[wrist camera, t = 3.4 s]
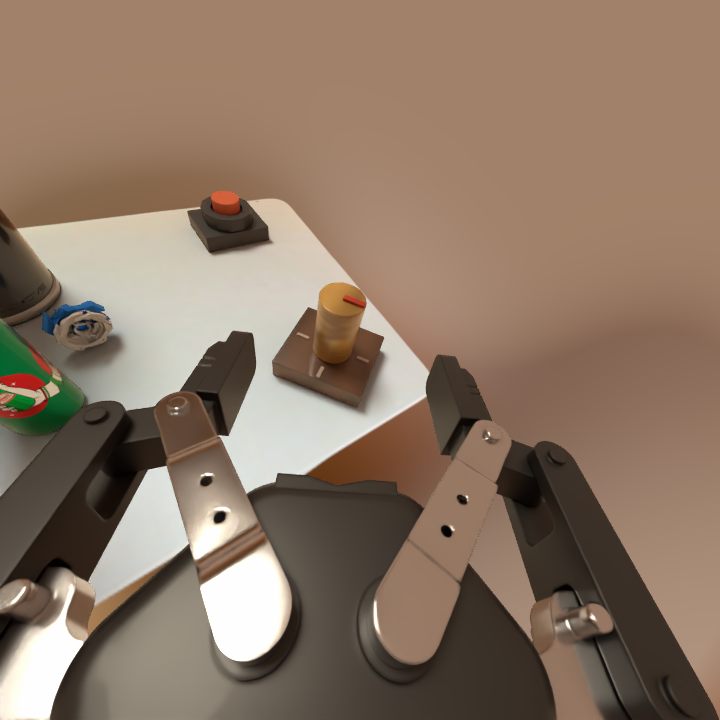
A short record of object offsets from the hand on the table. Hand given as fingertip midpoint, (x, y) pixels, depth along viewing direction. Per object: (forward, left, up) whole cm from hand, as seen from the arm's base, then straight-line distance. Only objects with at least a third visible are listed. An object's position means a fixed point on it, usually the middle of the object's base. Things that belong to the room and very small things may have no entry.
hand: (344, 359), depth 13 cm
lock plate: (-3, +12, -18) cm, 22 cm away
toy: (-25, +3, -18) cm, 31 cm away
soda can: (-23, -4, -18) cm, 30 cm away
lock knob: (-3, +12, -16) cm, 20 cm away
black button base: (-26, +28, -18) cm, 42 cm away
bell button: (-26, +28, -15) cm, 40 cm away
